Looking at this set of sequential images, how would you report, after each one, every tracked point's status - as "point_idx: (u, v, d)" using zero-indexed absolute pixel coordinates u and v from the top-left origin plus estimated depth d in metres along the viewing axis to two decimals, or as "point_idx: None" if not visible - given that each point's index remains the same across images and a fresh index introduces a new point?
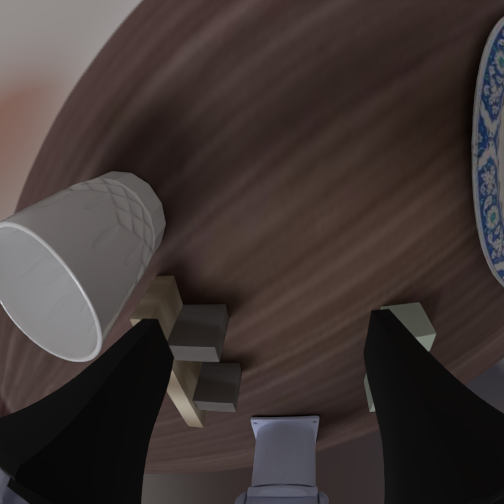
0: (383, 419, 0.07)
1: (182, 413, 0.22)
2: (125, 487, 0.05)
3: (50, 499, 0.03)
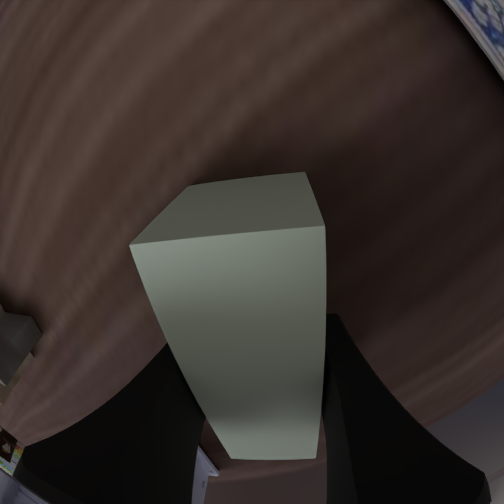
0: (326, 426, 0.07)
1: None
2: (179, 501, 0.05)
3: None
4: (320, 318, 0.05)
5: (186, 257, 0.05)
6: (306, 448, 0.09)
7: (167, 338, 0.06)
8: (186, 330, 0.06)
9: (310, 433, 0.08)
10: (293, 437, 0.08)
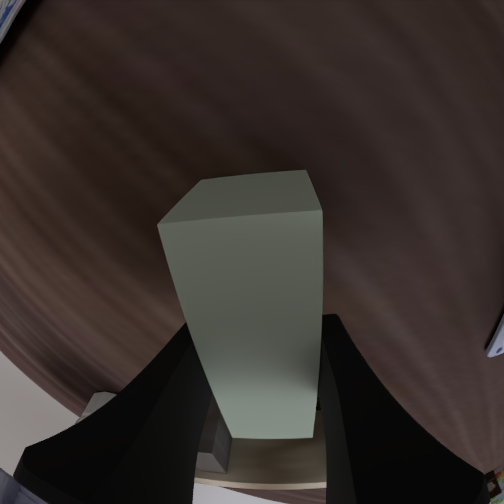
0: (326, 427, 0.07)
1: None
2: (179, 502, 0.05)
3: None
4: (318, 290, 0.06)
5: (207, 235, 0.06)
6: (304, 425, 0.10)
7: (183, 310, 0.07)
8: (201, 301, 0.07)
9: (307, 409, 0.09)
10: (292, 412, 0.09)
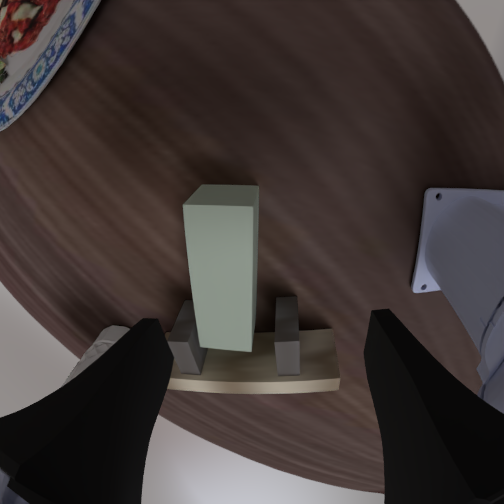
0: (383, 419, 0.07)
1: (302, 391, 0.18)
2: (125, 487, 0.05)
3: (50, 499, 0.03)
4: (250, 243, 0.14)
5: (204, 212, 0.14)
6: (245, 338, 0.18)
7: (187, 247, 0.15)
8: (196, 243, 0.15)
9: (247, 322, 0.17)
10: (237, 324, 0.17)
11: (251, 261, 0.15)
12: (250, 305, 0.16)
